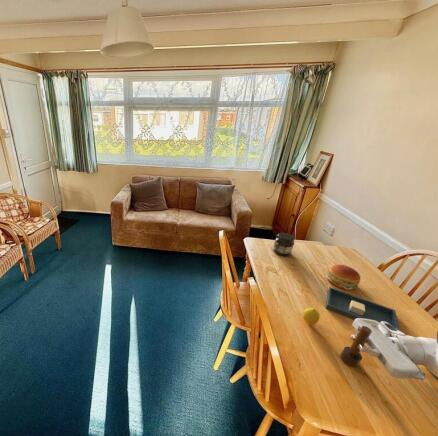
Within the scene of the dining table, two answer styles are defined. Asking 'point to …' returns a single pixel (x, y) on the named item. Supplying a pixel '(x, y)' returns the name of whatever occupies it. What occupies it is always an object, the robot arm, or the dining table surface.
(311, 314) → the lemon
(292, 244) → the supplement container
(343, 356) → the brush
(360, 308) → the cream block
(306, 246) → the dining table surface
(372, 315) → the tray
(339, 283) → the burger
